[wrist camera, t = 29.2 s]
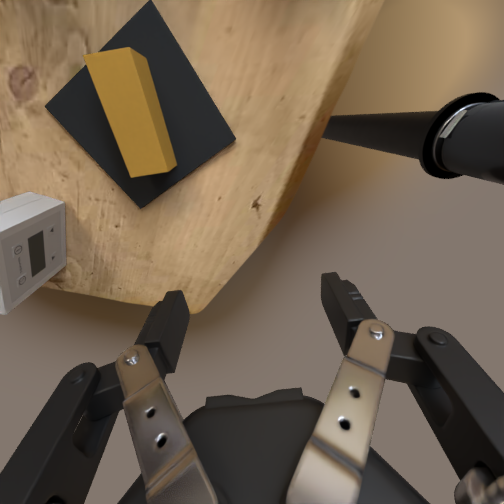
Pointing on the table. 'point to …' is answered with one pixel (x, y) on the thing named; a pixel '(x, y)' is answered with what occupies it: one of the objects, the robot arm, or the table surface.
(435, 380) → the robot arm
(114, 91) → the post
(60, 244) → the grey pipe housing
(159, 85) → the mat
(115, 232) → the table surface
